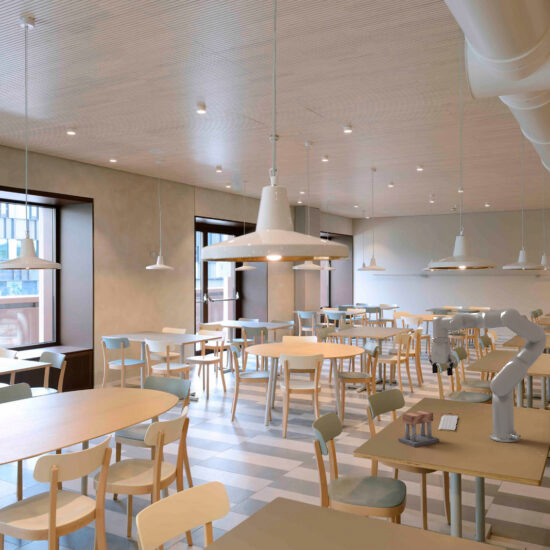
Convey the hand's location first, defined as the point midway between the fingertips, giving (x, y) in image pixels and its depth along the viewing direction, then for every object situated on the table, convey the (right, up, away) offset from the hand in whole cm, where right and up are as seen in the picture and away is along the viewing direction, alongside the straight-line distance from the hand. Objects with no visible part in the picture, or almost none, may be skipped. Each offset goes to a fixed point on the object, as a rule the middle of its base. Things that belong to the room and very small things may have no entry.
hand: (442, 374), depth 278 cm
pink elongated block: (-16, -20, -15) cm, 30 cm away
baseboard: (+8, -31, +17) cm, 36 cm away
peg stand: (-16, -30, -15) cm, 37 cm away
